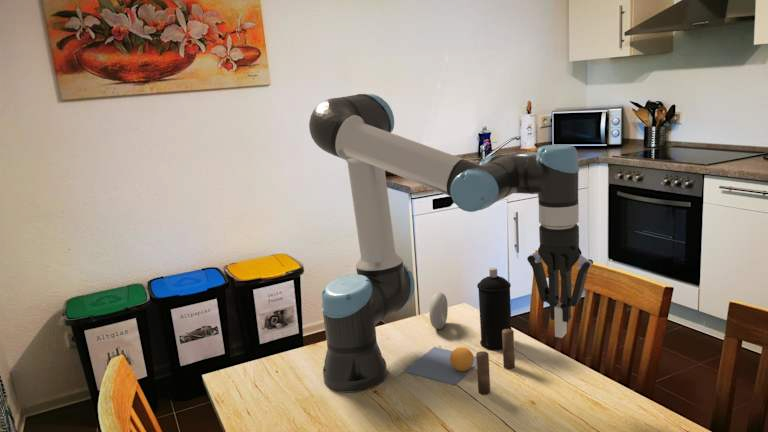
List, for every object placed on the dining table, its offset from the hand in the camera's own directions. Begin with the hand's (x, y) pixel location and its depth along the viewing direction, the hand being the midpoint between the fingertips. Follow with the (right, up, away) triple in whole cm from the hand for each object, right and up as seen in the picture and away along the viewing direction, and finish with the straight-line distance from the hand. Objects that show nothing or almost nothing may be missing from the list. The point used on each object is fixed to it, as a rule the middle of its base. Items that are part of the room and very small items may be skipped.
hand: (560, 334), depth 125 cm
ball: (-18, -9, +17) cm, 26 cm away
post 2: (-7, -11, +17) cm, 21 cm away
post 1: (-15, -14, +7) cm, 21 cm away
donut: (-21, -6, +41) cm, 47 cm away
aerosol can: (-8, -8, +29) cm, 31 cm away
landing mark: (-22, -11, +20) cm, 32 cm away
